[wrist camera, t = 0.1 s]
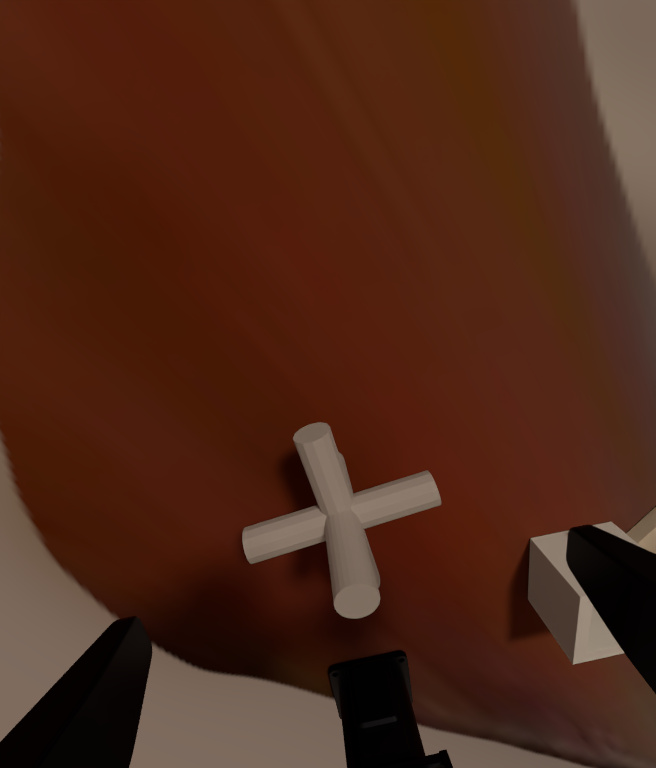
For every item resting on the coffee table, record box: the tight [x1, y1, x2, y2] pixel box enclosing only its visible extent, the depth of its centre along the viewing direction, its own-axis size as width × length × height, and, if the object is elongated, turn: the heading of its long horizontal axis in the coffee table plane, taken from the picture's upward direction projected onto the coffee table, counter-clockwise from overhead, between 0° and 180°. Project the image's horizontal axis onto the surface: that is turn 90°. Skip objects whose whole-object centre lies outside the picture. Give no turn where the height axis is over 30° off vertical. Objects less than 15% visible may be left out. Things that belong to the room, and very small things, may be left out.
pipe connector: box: [242, 422, 441, 619], centre depth 19 cm, size 10×10×10 cm
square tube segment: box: [528, 522, 642, 664], centre depth 26 cm, size 7×6×5 cm
